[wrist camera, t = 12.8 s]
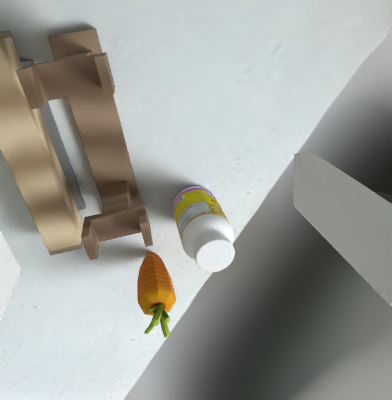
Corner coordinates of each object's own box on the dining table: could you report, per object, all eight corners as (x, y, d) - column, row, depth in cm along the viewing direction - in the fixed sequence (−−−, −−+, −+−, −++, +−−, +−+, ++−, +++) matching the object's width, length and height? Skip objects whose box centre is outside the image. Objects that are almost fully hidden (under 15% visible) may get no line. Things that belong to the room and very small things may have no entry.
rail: (-32, 37, 33) (-53, 38, 29) (9, 31, 33) (-6, 31, 29) (56, 235, 45) (50, 255, 41) (85, 229, 45) (81, 248, 42)
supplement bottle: (219, 215, 50) (247, 268, 39) (178, 228, 49) (195, 286, 38) (209, 178, 46) (237, 225, 35) (166, 192, 46) (180, 244, 35)
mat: (-25, 69, 34) (-27, 69, 34) (32, 59, 35) (31, 60, 35) (41, 216, 44) (40, 218, 43) (85, 206, 45) (85, 208, 44)
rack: (40, 37, 34) (4, 41, 24) (104, 27, 35) (96, 27, 24) (101, 215, 46) (95, 273, 35) (148, 205, 46) (156, 259, 36)
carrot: (165, 264, 52) (180, 342, 39) (134, 266, 51) (139, 347, 38) (167, 239, 50) (183, 313, 37) (134, 240, 49) (139, 317, 36)
